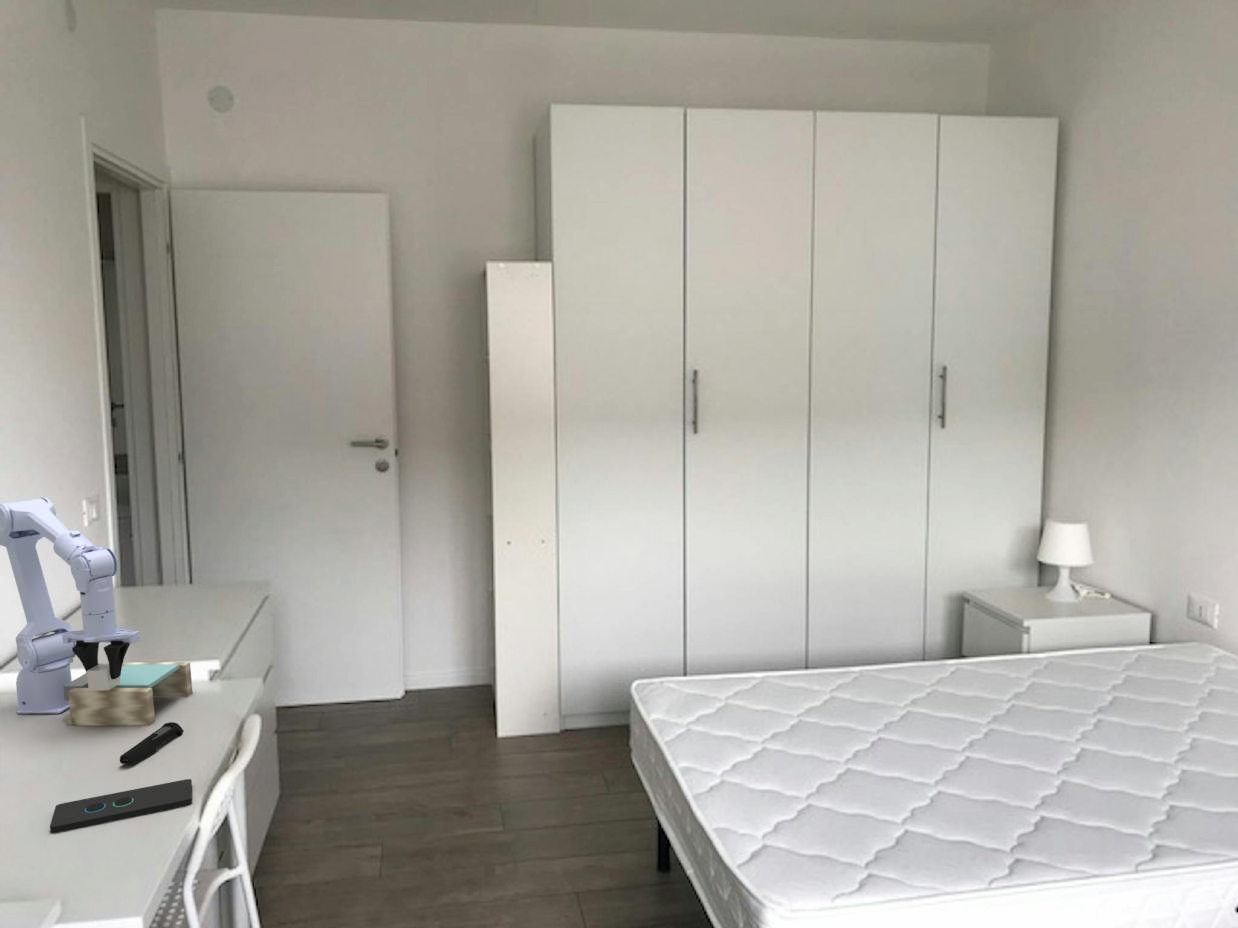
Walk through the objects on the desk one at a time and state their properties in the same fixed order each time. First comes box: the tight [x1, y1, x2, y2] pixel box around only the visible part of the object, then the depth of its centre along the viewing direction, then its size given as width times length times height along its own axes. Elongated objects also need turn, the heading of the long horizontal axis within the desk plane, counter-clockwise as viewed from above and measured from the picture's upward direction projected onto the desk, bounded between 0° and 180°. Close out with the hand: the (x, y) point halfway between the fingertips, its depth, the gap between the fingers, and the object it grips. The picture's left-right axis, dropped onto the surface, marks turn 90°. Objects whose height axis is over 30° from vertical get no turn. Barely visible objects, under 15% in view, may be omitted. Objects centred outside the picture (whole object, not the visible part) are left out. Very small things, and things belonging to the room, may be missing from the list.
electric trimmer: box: [119, 721, 184, 765], centre depth 170 cm, size 4×16×3 cm, turn 172°
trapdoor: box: [63, 664, 180, 700], centre depth 190 cm, size 18×12×4 cm, turn 88°
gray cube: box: [87, 663, 120, 690], centre depth 181 cm, size 4×4×4 cm
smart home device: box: [49, 778, 193, 834], centre depth 149 cm, size 8×2×20 cm
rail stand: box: [65, 661, 193, 726], centre depth 190 cm, size 17×17×7 cm
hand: (104, 677), depth 181 cm, fingers closed on gray cube, 4 cm apart
